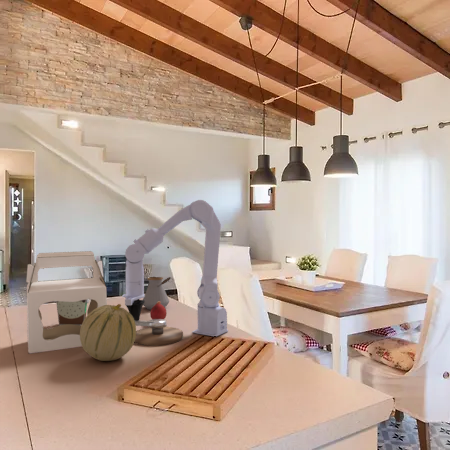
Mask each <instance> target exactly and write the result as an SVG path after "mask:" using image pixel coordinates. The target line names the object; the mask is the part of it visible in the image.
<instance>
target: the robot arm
mask: <svg viewBox="0 0 450 450" xmlns="http://www.w3.org/2000/svg"><path fill="white" fill-rule="evenodd" d="M191 220H195V221H197V222H198V223H200V225H202V226H203V228H204V229H205V240H204V248H203V249H204V251H203V253H204V254H203V263H202V276H201V280H200V285H199V287H198V289H197V292H196V293H197V297H198V299H199V301H198V303H197V329H195V330H192V331H191V333H193V334H198V335H203V336H208V337H209V336H211V337H214V336H216V337H218V336H221V335H223V334H225V333H228V332H229V329H228V312H227V309H226V308H225V307H221V306H220V303H219V301H220V297H221V296H220V293H219V290H218V288H219V287H218V266H219V265H218V264H219V254H220V253H219V252H220V241H221V240H220V239H221V228H222V227H221V226H222V225H221V222H220V220H219V219H218V217H217V215H216V213H215V210H214V208H213V206H212V205H210V203H208V202H207V201H205V200H204V199H198V200H195V201H192V202H191V203H190V204H188V205H186V206H184V207H182V208H180V209H179V210H178V211H177V212H176V213H174V214H173V215H172V216H171V217H170V218H169V219H167V220H166V221H165V222H163V224H161V225H160V226H159V227H158V228H155V227H151V228H150V229H148V228H147V229H146V230H144V232H145V233H144V234H142V235H141V236H140V237H139V238H137V239H134V240H133V242H134V243H131V244H130V245H128V246H127V248H126V249H125V252H124V255H125V258H126V261H125V293H124V294H122V298H125V299H124V305H125V307H126V308H127V311H128V312H129V313H130V314H131V315H132V316H133V318H134V320H140V319H141V318H140V317H141V313H142V309H143V307H144V305H143V304H144V302H145V300H143V298H144V297H145V275H144V273H145V271H144V270H145V269H144V268H145V267H144V262H143V261H144V258H145V255H147V254H149V253H151V252H152V251H153V250H154V249H156V248H157V247H158V246H160V244H162V243H164V236H165V235H167V234H168V233H170V232H171V231H172V230H173V229H174V228H176V227H177V226H179V225H180V224H181V223H182V222H185V221H191Z"/></svg>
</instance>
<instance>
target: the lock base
mask: <svg viewBox="0 0 450 450" xmlns="http://www.w3.org/2000/svg"><path fill="white" fill-rule="evenodd" d="M183 339H184V331H183V330H181V329H180V328H177V327H172V326H166V327H164V328H150V327H147V328H146V327H145V328H140V329H136V338H135V343H134V344H136V343H138V344H137V345H140V344H144V345H143V346H147V345H159V346H166V345H173V344H175V343H177V342H180V341H182V340H183Z"/></svg>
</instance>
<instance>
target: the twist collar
mask: <svg viewBox="0 0 450 450" xmlns="http://www.w3.org/2000/svg"><path fill="white" fill-rule="evenodd" d="M134 321H135V324H136V327H148V328H164V327H168V326H167V324H168V323H167V320H166V318H165V319H153V320H152V319H149V320H145V319H144V320H143V319H142V320H140V319H139V320H134Z"/></svg>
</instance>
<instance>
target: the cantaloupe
mask: <svg viewBox="0 0 450 450" xmlns="http://www.w3.org/2000/svg"><path fill="white" fill-rule="evenodd" d="M136 331H137V326H136V324H135V321H134V318H133V316H132V315H131V314H130V313H129V310H128V309H126V308H124V307H122V304H121V303H117V305H114V304H113V305H111V304H107V305H104V306H101V307H98V308H96V309H94V310H93V311H92V312H90V313H89V314H88V315H87V314H86V318H85V319H84V321H83V323H82V325H81V329H80V341H81V344H82V347H81V348H82V350H84V352H85V353H86V354H87V355H89V356H90V357H92V358H93V359H94V360H95V359H96V360H98V361H100V362H111V361H116V360H119V359H120V358H122V357H124V356H125V355H127V354H128V352H130V350H131V348H133V346H134V344H135V343H134V342H135V338H136Z"/></svg>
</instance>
